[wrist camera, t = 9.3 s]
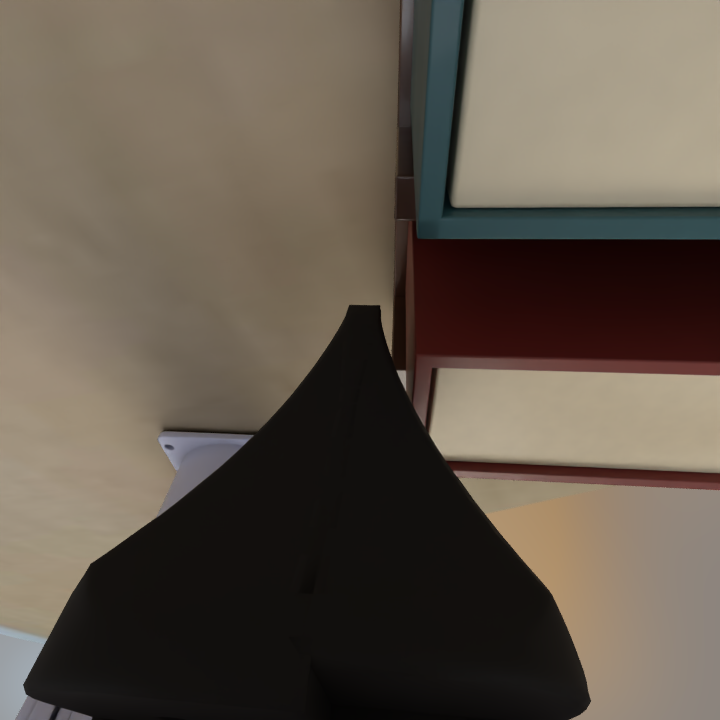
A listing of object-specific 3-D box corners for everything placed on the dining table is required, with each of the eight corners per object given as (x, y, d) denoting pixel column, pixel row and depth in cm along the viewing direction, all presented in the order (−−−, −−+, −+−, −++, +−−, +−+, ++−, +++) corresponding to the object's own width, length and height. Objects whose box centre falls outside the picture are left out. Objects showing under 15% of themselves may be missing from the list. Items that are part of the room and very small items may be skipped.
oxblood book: (672, 290, 14) (850, 497, 8) (405, 287, 15) (406, 475, 9) (733, 181, 11) (1044, 370, 6) (410, 184, 12) (415, 354, 7)
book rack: (672, 313, 15) (780, 445, 11) (393, 308, 16) (389, 429, 12) (1009, -255, 7) (1972, -628, 3) (404, -202, 8) (406, -422, 4)
